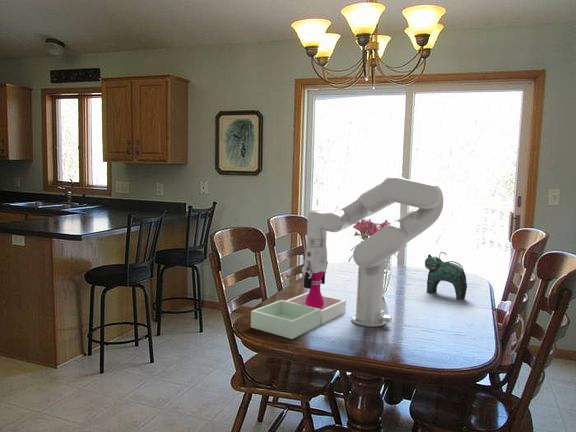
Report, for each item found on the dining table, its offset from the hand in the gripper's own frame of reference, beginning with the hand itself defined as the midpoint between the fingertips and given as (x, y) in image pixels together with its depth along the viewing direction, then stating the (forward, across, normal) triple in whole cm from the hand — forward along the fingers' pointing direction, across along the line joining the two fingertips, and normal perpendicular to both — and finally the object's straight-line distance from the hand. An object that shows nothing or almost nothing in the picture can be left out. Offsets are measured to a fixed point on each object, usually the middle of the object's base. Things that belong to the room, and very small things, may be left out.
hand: (314, 285), depth 183 cm
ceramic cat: (+11, +62, -32) cm, 71 cm away
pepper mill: (+11, 0, 0) cm, 11 cm away
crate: (+11, 0, 0) cm, 11 cm away
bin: (+11, -19, 0) cm, 22 cm away
